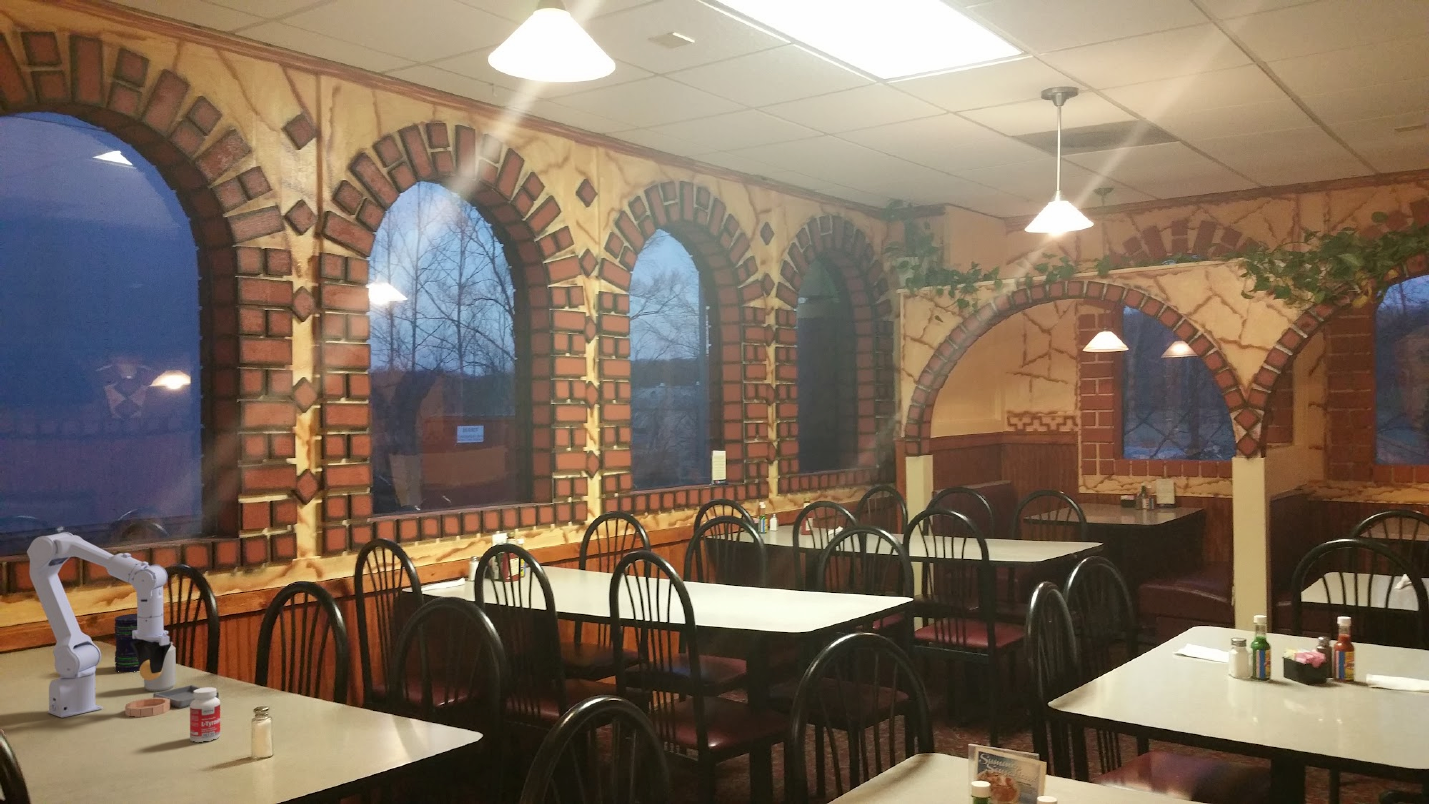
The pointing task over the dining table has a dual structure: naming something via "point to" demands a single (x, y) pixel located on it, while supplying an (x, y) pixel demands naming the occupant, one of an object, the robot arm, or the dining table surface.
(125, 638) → the storage jar
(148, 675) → the ball
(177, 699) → the tray
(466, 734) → the dining table surface
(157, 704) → the dish
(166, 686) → the can
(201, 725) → the pill bottle
